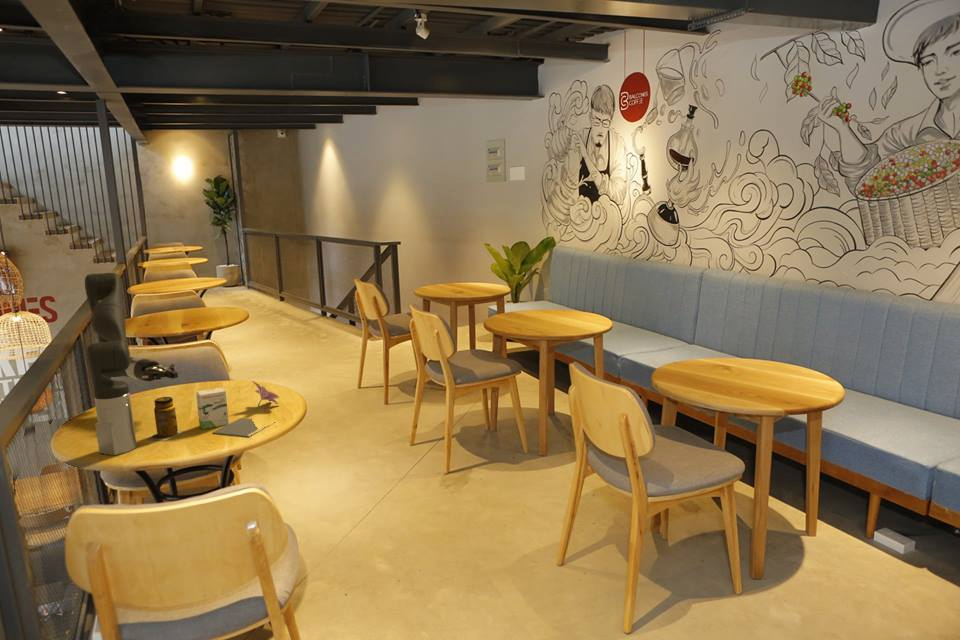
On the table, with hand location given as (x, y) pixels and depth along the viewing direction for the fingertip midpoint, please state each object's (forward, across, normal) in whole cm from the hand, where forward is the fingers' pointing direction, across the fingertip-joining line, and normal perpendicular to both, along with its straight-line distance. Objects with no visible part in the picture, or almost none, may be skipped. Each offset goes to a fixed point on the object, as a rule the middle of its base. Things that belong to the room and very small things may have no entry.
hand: (175, 375), depth 223 cm
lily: (+19, +21, +16) cm, 32 cm away
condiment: (+10, -14, +15) cm, 23 cm away
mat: (+29, +2, +15) cm, 33 cm away
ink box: (+17, 0, +15) cm, 23 cm away
